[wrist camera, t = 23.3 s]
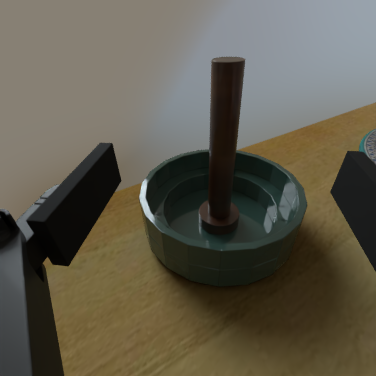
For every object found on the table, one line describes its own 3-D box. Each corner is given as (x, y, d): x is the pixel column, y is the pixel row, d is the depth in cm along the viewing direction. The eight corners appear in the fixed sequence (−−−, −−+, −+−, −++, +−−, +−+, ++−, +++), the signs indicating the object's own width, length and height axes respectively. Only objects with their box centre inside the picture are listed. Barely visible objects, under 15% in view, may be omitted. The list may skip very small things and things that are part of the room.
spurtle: (191, 225, 28) (185, 62, 18) (210, 202, 32) (214, 53, 21) (227, 241, 26) (245, 66, 16) (244, 215, 29) (268, 56, 19)
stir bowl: (116, 243, 27) (104, 204, 24) (194, 172, 39) (193, 139, 35) (263, 327, 20) (277, 288, 16) (306, 208, 31) (320, 170, 28)
